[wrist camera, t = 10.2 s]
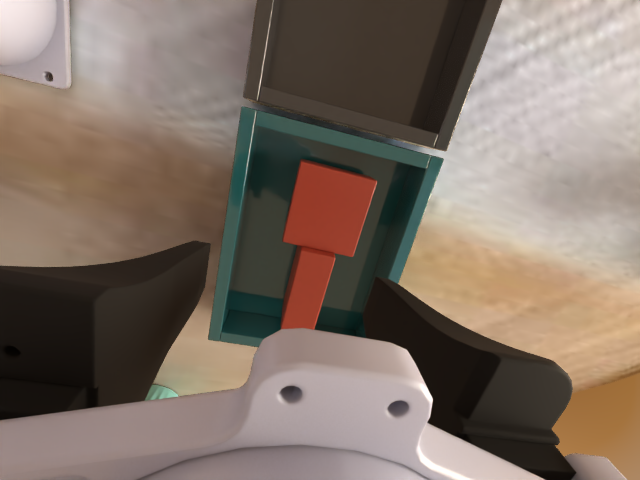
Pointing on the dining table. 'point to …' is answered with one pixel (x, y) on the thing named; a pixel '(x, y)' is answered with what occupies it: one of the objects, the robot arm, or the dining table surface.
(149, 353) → the robot arm
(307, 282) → the brush
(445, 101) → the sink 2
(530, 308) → the dining table surface
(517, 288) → the dining table surface
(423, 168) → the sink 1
